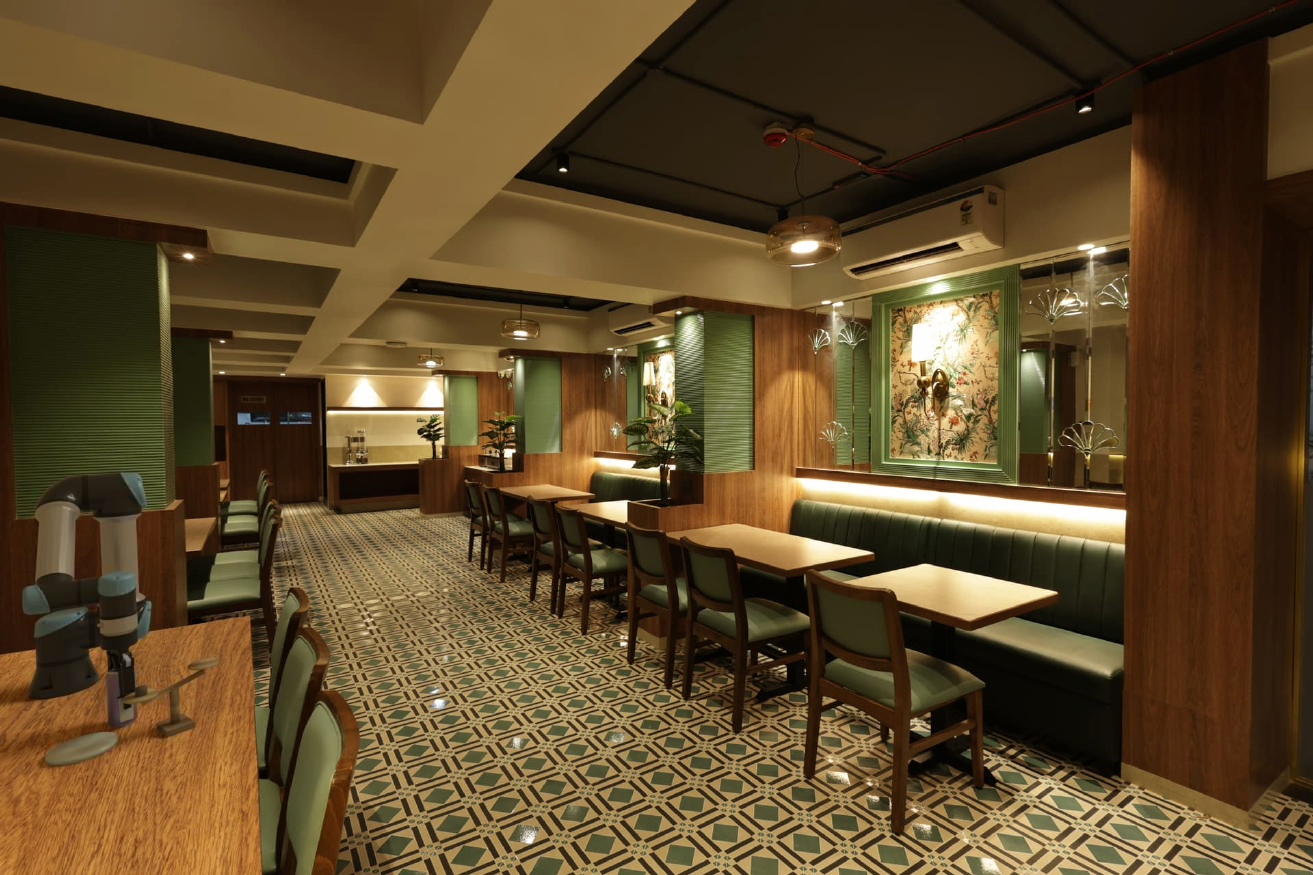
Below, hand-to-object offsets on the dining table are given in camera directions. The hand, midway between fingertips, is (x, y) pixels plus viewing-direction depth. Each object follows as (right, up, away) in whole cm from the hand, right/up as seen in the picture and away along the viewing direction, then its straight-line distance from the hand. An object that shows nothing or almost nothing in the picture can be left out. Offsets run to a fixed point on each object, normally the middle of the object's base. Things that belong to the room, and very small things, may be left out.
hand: (122, 716), depth 163 cm
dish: (+2, -2, -13) cm, 14 cm away
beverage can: (0, -2, 0) cm, 2 cm away
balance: (+16, -2, -3) cm, 17 cm away
